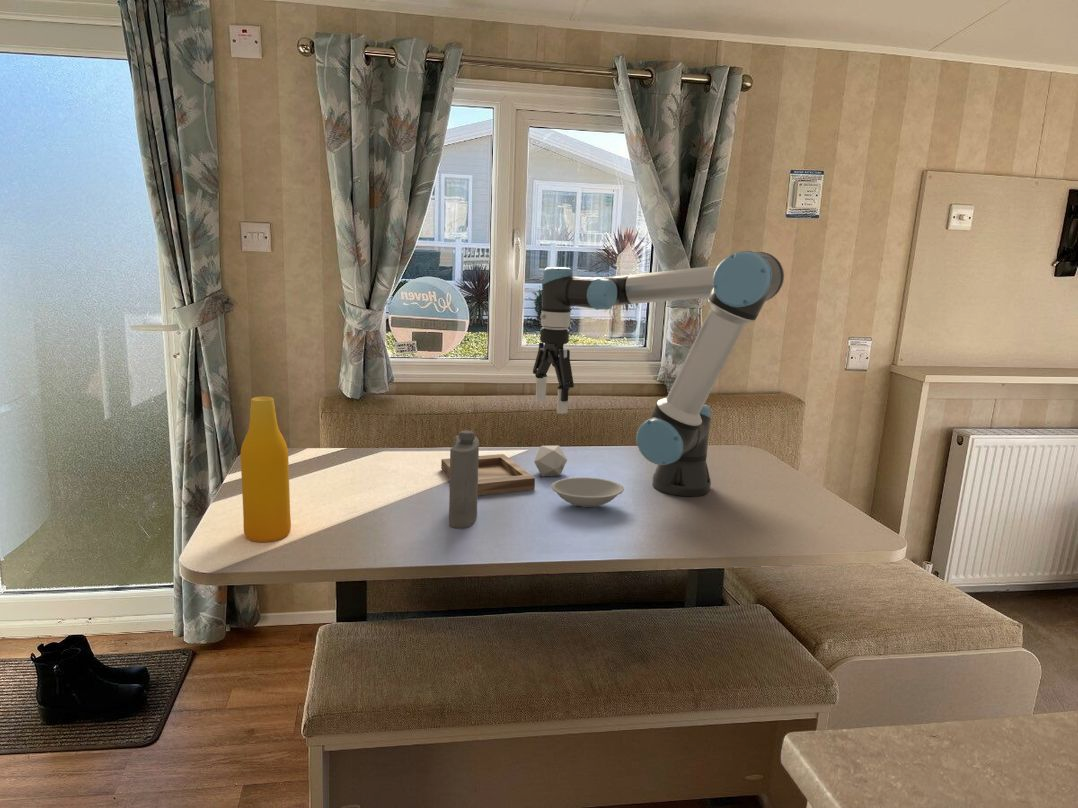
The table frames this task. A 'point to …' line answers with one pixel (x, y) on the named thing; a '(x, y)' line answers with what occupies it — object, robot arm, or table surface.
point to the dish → (587, 491)
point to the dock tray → (498, 475)
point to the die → (550, 460)
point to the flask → (463, 480)
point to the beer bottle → (265, 475)
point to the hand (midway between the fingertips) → (550, 407)
